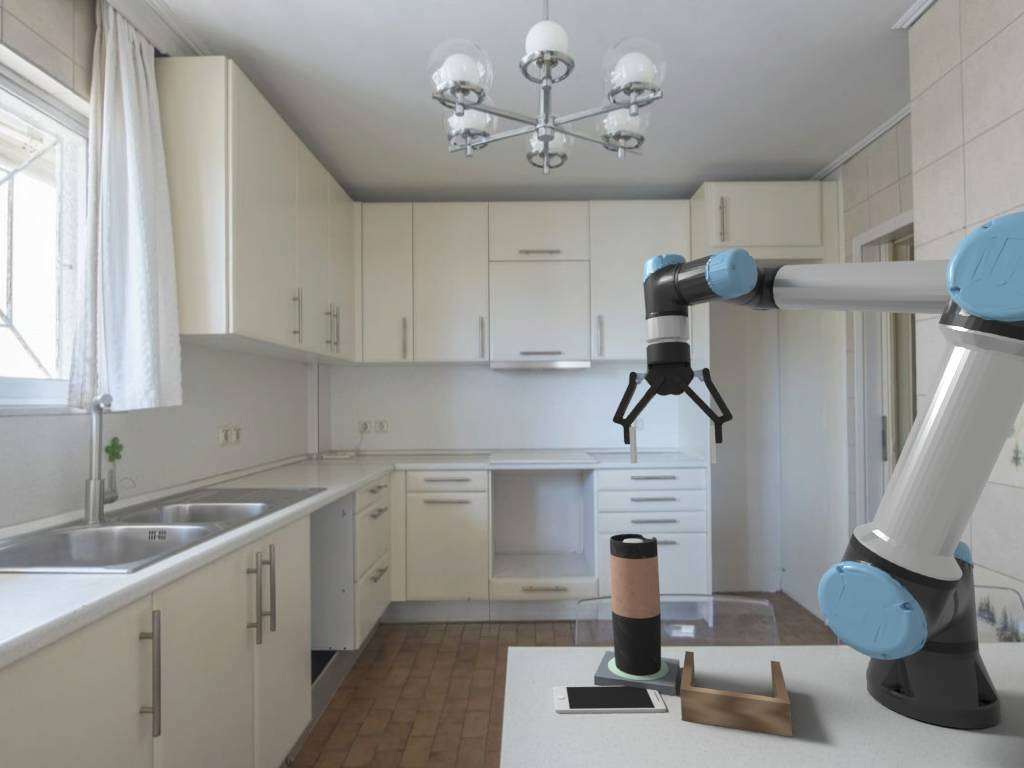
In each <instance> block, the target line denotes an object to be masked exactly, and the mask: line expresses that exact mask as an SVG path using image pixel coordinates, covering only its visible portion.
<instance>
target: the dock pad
mask: <svg viewBox="0 0 1024 768" xmlns="http://www.w3.org/2000/svg"><path fill="white" fill-rule="evenodd" d="M680 665H681V664H680V659H679V658H669V657H662V656H661V669H660V671H659V672H657V673H655V674H652V675H646V676H637V675H631V674H627V673H624V672H622V671H620V670H619V669H618V668H617V667H616V664H615V653H614V651H612V650H611V651H610V650H606V651H605V653H604V655H603V657H602V658H601V661H600V663H599V665H598V667H597V669H596V671H595V673H594V675H593V678H594V680H593V683H594V685H596V686H629V687H636V688H643V689H650V690H657V691H658V693H659V694H662V695H668V696H669V695H671V696H676V694H677V688H678V687H677V686H678V681H679V674H680Z"/></svg>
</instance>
